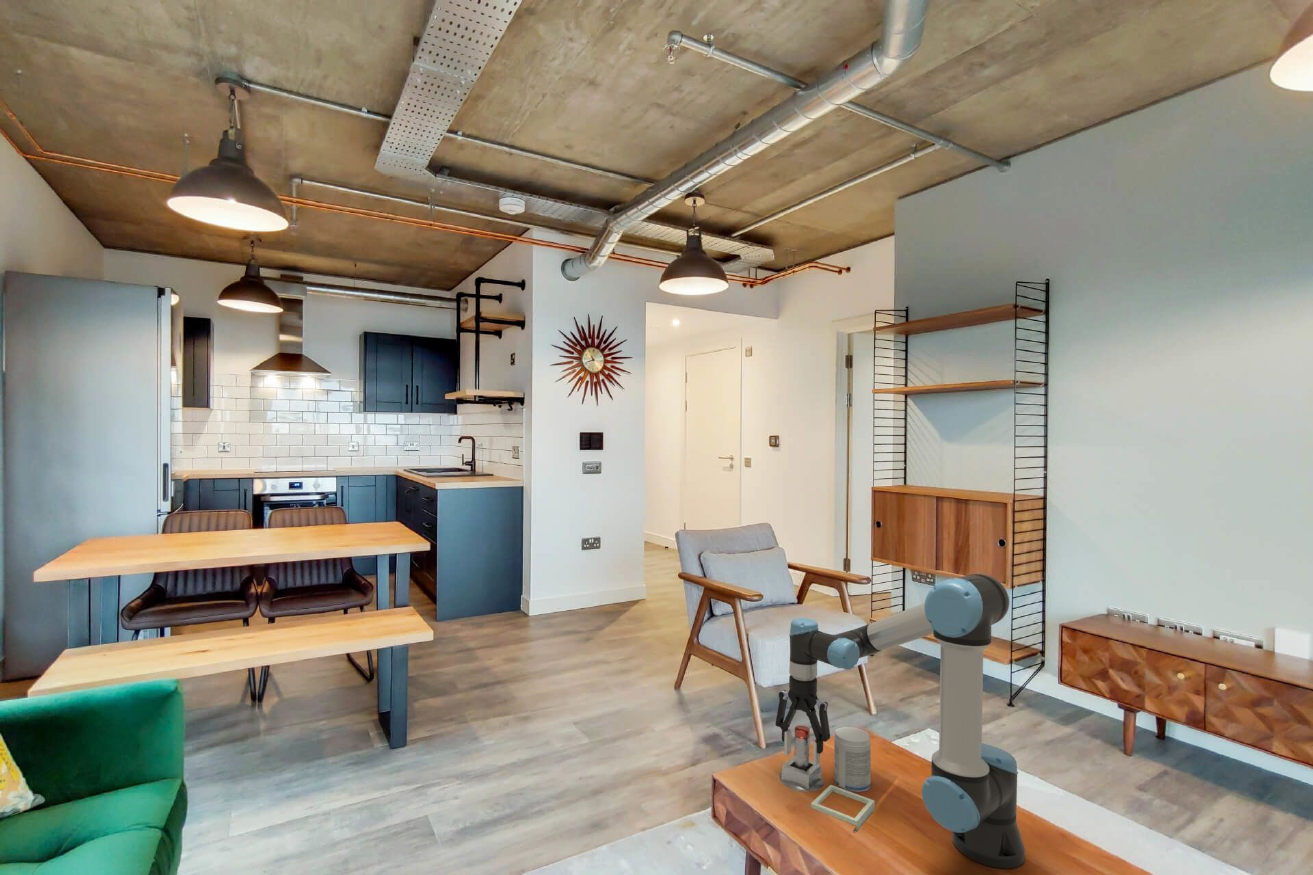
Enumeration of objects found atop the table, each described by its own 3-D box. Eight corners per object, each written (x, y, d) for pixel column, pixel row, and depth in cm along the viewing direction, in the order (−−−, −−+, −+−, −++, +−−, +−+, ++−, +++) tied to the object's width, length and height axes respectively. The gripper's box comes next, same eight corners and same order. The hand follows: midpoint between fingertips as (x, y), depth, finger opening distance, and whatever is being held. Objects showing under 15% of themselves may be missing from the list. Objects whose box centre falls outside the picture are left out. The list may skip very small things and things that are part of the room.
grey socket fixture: (831, 783, 178) (831, 763, 178) (812, 802, 169) (812, 781, 169) (791, 769, 186) (791, 750, 186) (771, 786, 176) (771, 766, 176)
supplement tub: (876, 788, 176) (877, 734, 176) (859, 801, 170) (860, 745, 170) (844, 774, 183) (845, 722, 183) (827, 786, 177) (827, 732, 177)
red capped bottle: (811, 779, 178) (812, 728, 178) (804, 784, 174) (805, 733, 175) (798, 774, 180) (798, 724, 180) (791, 779, 177) (792, 728, 177)
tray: (874, 810, 166) (874, 800, 166) (856, 831, 156) (856, 821, 156) (830, 793, 173) (830, 784, 173) (810, 813, 164) (811, 803, 164)
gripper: (844, 681, 174) (843, 765, 174) (776, 663, 187) (774, 742, 187) (833, 689, 168) (832, 776, 168) (763, 670, 181) (761, 751, 181)
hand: (801, 758), depth 177 cm, fingers open, 8 cm apart
